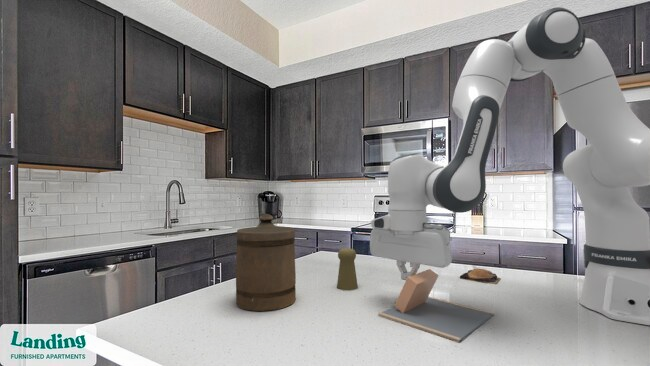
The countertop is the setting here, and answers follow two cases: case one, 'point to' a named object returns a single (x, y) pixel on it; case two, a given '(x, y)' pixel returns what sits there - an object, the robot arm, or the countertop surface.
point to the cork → (347, 270)
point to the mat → (441, 318)
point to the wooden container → (265, 266)
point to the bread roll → (480, 276)
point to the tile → (416, 290)
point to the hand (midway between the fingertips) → (408, 280)
